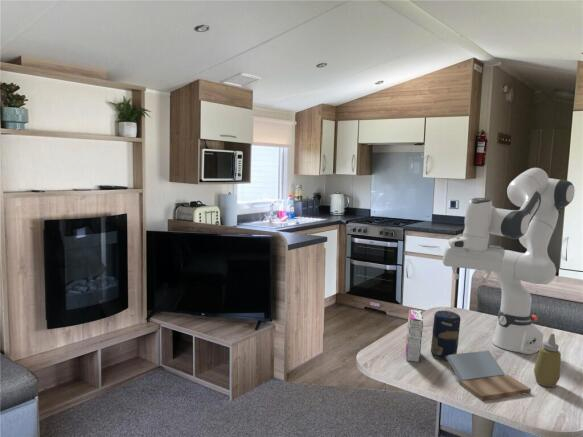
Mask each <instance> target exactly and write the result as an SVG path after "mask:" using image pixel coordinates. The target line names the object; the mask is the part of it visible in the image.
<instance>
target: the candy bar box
mask: <svg viewBox="0 0 583 437" xmlns="http://www.w3.org/2000/svg"><path fill="white" fill-rule="evenodd" d="M407 318H408V320H407V330H406V339H405V340H406V342H405V354H406V361H407V362H413V363H414V362H415V363H420V359H421V348H422V338H423V325H424V318H423V312H422V310H415V309H409V310H408V317H407Z"/></svg>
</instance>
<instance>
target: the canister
mask: <svg viewBox="0 0 583 437" xmlns="http://www.w3.org/2000/svg"><path fill="white" fill-rule="evenodd" d="M461 320H462V319H461V316H460V315H459V314H458V313H457V312H453V311H450V310H437V311H436V312H435V313H434V317H433V324H432V335H431V336H432V337H431V343H430V344H431V346H430V353H431V355H433V356H434V357H435V358H437V359H440V360H447V358H446V357H447V356H448V355H453V354H458V346H459V337H460V328H461ZM447 361H448V360H447Z"/></svg>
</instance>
